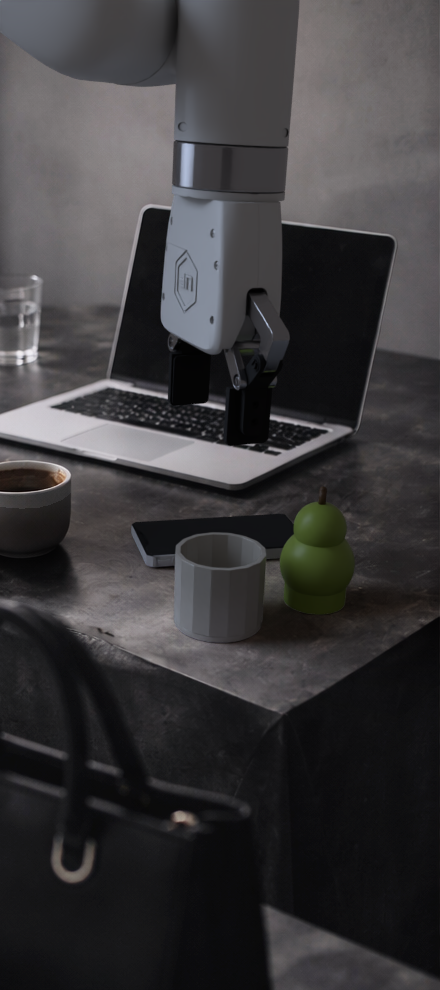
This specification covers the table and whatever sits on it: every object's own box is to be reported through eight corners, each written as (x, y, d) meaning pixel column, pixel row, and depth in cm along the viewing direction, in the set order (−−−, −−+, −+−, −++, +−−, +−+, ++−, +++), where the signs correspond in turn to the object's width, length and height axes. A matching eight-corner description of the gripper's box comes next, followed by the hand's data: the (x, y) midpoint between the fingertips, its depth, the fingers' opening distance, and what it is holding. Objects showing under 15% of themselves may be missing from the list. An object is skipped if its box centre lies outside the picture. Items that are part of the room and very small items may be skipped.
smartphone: (313, 546, 87) (147, 557, 83) (312, 558, 88) (147, 570, 83) (283, 512, 94) (130, 521, 90) (282, 523, 95) (130, 533, 91)
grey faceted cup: (172, 641, 72) (174, 568, 70) (175, 599, 79) (176, 531, 77) (264, 644, 73) (268, 571, 70) (259, 602, 79) (263, 533, 77)
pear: (279, 616, 77) (288, 499, 73) (275, 582, 82) (282, 472, 79) (356, 619, 77) (367, 501, 73) (345, 585, 82) (356, 474, 79)
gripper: (129, 163, 70) (124, 393, 76) (236, 184, 56) (219, 466, 62) (224, 166, 73) (211, 387, 79) (348, 187, 59) (321, 455, 65)
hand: (215, 422), depth 71 cm, fingers open, 9 cm apart
